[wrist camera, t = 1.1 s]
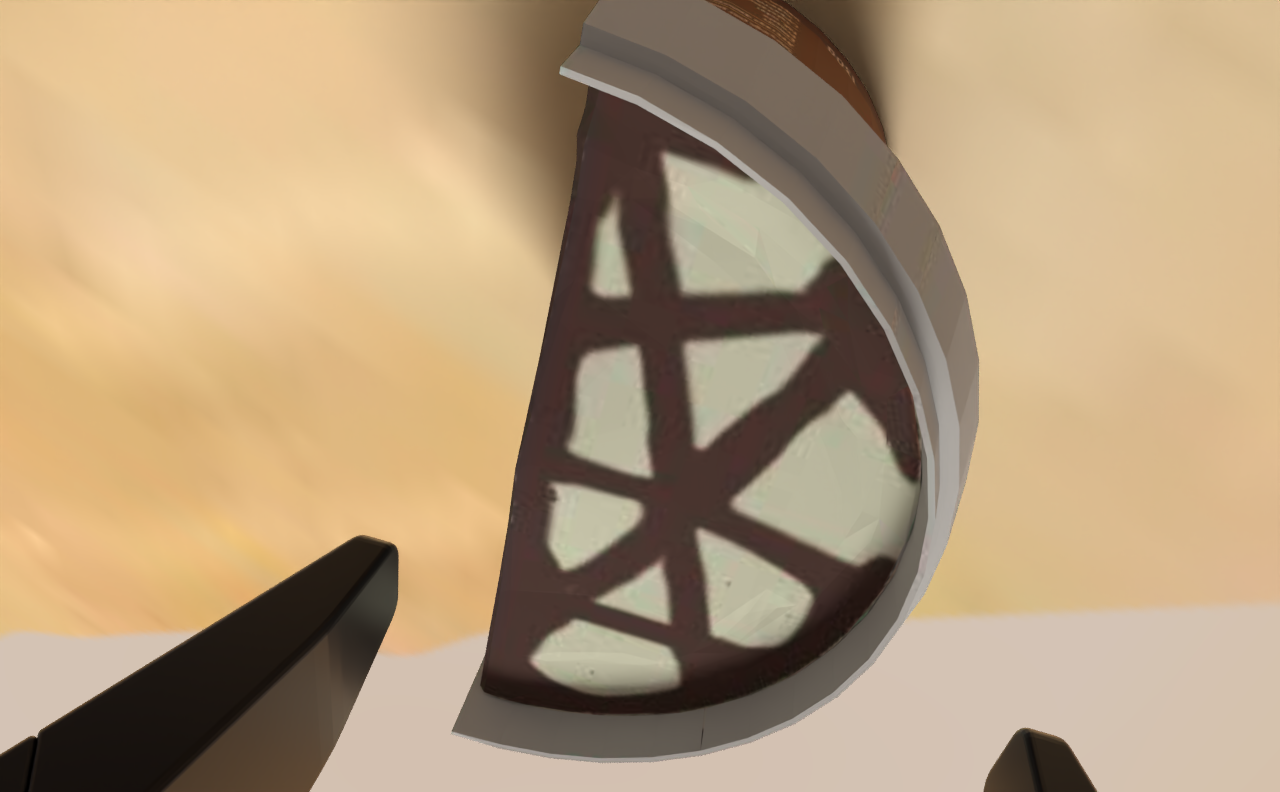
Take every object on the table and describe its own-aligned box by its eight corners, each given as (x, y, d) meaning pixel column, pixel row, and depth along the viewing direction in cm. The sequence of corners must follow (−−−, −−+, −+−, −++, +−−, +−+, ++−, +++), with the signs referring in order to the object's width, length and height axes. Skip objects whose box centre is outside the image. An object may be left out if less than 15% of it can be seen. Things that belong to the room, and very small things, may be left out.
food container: (836, 490, 24) (798, 873, 16) (600, 415, 24) (447, 752, 16) (1072, -25, 17) (1222, 201, 9) (730, -122, 17) (568, 10, 9)
